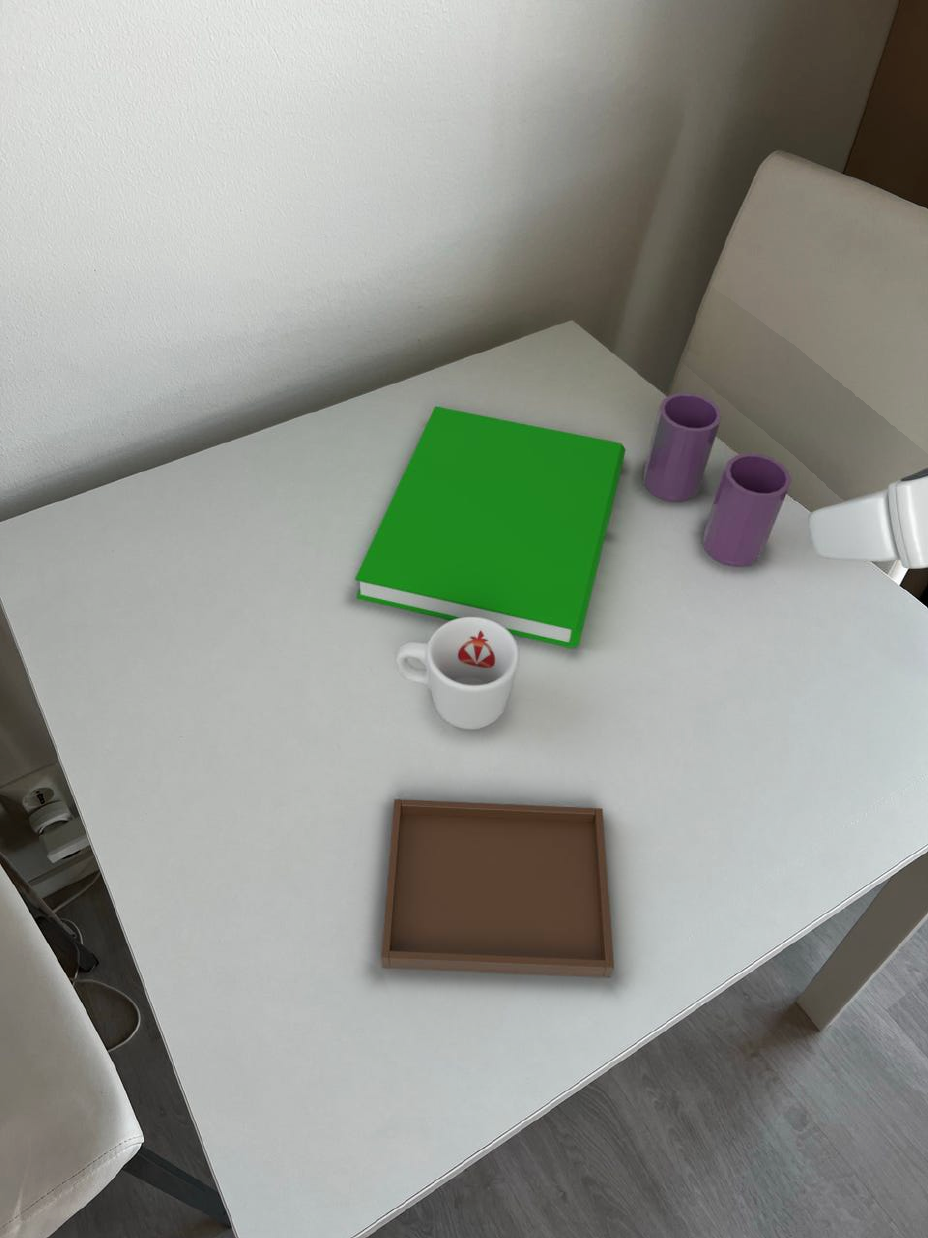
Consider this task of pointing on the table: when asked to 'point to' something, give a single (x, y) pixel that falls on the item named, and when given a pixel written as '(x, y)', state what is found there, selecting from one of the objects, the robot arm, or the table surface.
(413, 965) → the walnut tray
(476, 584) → the book
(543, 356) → the table surface
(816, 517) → the robot arm
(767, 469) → the plum tumbler
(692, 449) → the tumbler
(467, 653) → the cup
